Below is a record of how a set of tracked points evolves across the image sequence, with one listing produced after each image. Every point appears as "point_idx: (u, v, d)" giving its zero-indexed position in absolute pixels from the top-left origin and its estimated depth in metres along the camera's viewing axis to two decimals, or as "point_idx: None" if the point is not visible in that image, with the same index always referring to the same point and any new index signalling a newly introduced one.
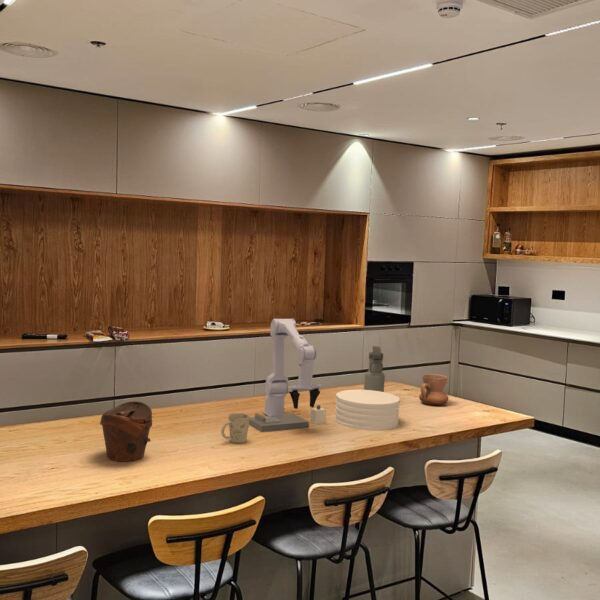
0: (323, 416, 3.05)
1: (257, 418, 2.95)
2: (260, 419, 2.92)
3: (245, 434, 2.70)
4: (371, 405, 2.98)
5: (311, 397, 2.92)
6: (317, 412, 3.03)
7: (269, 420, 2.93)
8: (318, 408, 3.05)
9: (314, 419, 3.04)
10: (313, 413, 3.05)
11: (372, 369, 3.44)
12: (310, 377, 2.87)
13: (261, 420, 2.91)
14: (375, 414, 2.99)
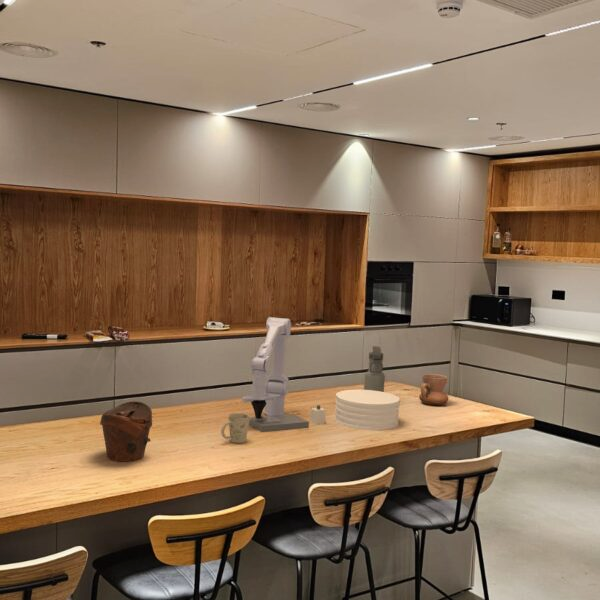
0: (323, 416, 3.05)
1: None
2: (261, 419, 2.92)
3: (245, 434, 2.70)
4: (371, 405, 2.98)
5: None
6: (317, 412, 3.03)
7: (270, 420, 2.93)
8: (318, 408, 3.05)
9: (314, 419, 3.04)
10: (313, 413, 3.04)
11: (372, 369, 3.44)
12: (263, 388, 2.90)
13: (262, 420, 2.91)
14: (375, 414, 2.99)
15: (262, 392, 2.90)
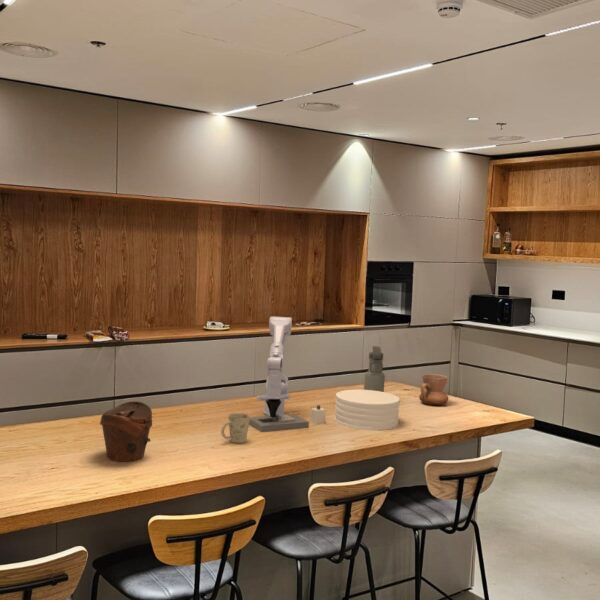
0: (323, 416, 3.05)
1: None
2: (276, 418, 2.95)
3: (245, 434, 2.70)
4: (371, 405, 2.98)
5: None
6: (317, 412, 3.03)
7: (284, 419, 2.96)
8: (318, 408, 3.05)
9: (314, 419, 3.04)
10: (313, 413, 3.04)
11: (372, 369, 3.44)
12: (278, 387, 2.93)
13: (277, 419, 2.95)
14: (375, 414, 2.99)
15: (277, 391, 2.93)
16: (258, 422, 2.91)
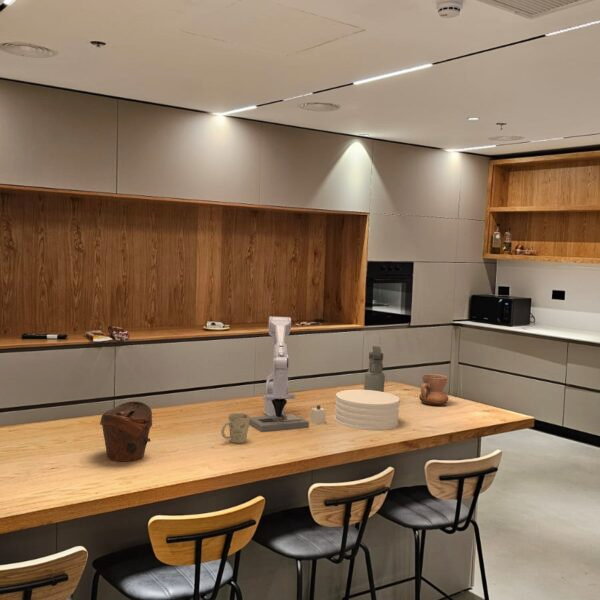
0: (323, 416, 3.05)
1: None
2: (281, 417, 2.97)
3: (245, 434, 2.70)
4: (371, 405, 2.98)
5: None
6: (317, 412, 3.03)
7: (290, 418, 2.98)
8: (318, 408, 3.05)
9: (314, 419, 3.04)
10: (313, 413, 3.04)
11: (372, 369, 3.44)
12: (284, 387, 2.95)
13: (282, 418, 2.96)
14: (375, 414, 2.99)
15: (283, 391, 2.94)
16: (258, 422, 2.91)
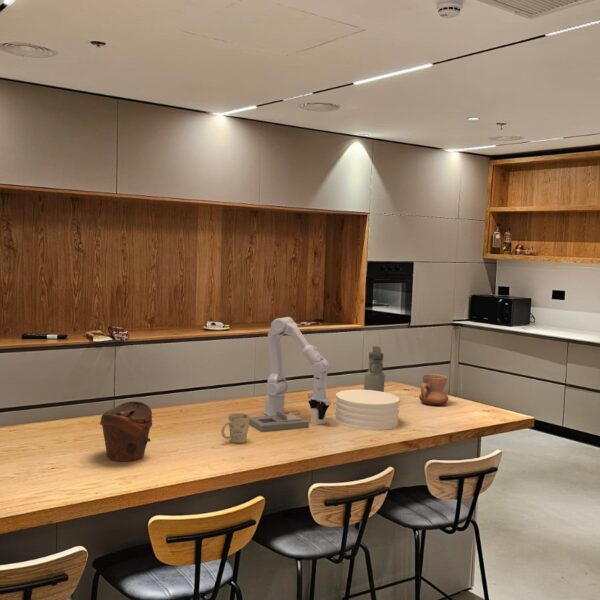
0: None
1: (278, 416, 2.99)
2: (281, 417, 2.97)
3: (245, 434, 2.70)
4: (371, 405, 2.98)
5: None
6: (317, 412, 3.03)
7: (290, 418, 2.98)
8: None
9: (314, 419, 3.04)
10: (313, 413, 3.04)
11: (372, 369, 3.44)
12: (315, 389, 3.03)
13: (282, 418, 2.96)
14: (375, 414, 2.99)
15: (314, 392, 3.03)
16: (258, 422, 2.91)
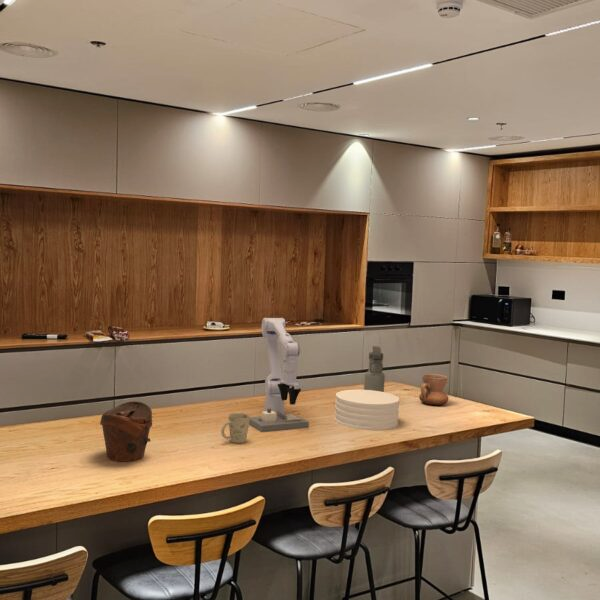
0: (274, 420, 2.94)
1: (278, 416, 2.99)
2: (281, 417, 2.97)
3: (245, 434, 2.70)
4: (371, 405, 2.98)
5: None
6: (267, 416, 2.93)
7: (290, 418, 2.98)
8: (268, 411, 2.94)
9: None
10: (263, 417, 2.94)
11: (372, 369, 3.44)
12: (285, 372, 2.97)
13: (282, 418, 2.96)
14: (375, 414, 2.99)
15: (284, 376, 2.98)
16: (258, 422, 2.91)
